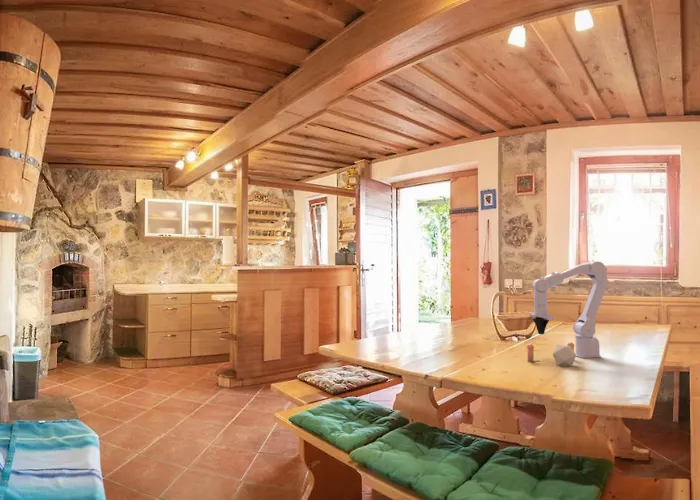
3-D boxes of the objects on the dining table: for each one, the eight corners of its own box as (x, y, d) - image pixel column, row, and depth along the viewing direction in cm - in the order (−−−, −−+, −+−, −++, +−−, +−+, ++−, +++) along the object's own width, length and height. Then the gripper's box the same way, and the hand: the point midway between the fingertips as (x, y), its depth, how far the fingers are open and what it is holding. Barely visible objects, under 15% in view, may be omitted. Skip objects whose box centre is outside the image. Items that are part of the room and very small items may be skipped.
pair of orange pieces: (571, 358, 190) (571, 341, 190) (576, 360, 187) (575, 342, 188) (525, 360, 186) (525, 343, 186) (529, 362, 183) (529, 344, 183)
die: (576, 365, 180) (562, 344, 185) (584, 359, 172) (569, 337, 178) (559, 373, 179) (545, 352, 184) (566, 367, 171) (551, 345, 177)
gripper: (523, 303, 205) (524, 331, 204) (543, 306, 191) (543, 336, 190) (536, 303, 206) (537, 331, 206) (556, 306, 192) (557, 336, 192)
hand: (541, 334), depth 198 cm, fingers closed
